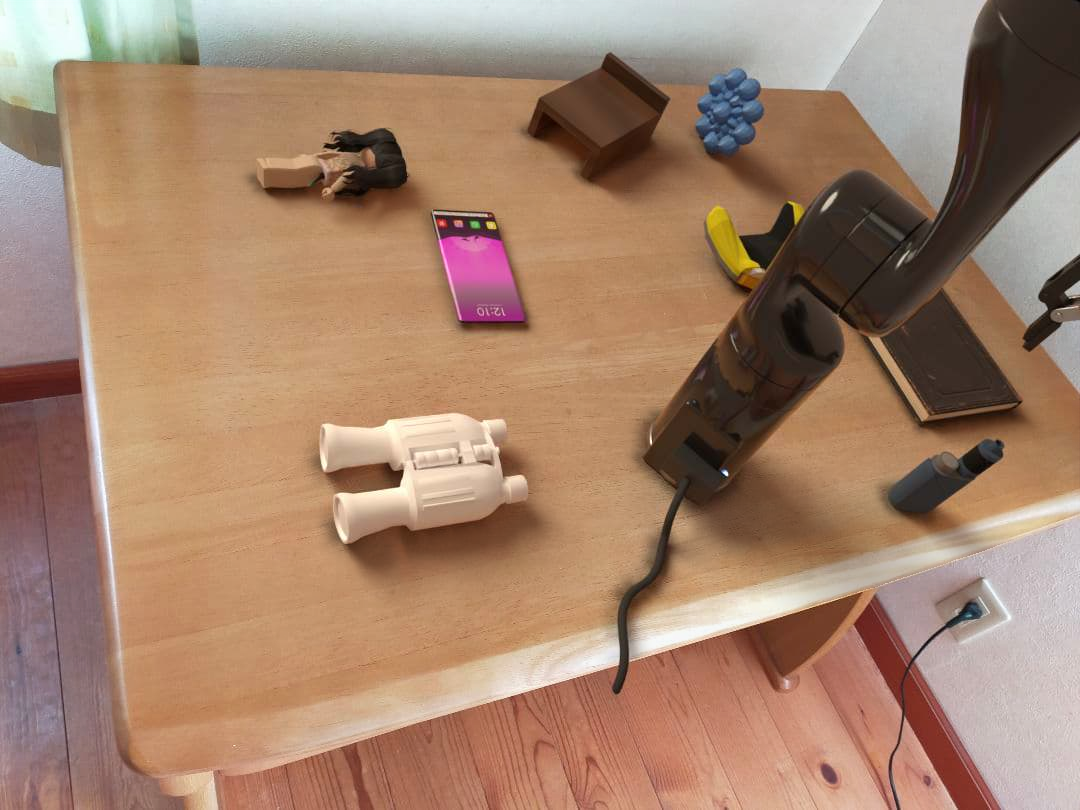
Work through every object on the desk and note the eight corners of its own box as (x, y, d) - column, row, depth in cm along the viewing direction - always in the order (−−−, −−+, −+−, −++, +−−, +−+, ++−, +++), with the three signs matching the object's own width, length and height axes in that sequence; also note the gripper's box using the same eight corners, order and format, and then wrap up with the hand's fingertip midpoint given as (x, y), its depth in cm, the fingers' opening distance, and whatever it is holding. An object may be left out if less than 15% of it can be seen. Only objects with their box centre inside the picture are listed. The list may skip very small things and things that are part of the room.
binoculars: (313, 442, 74) (320, 411, 70) (488, 422, 81) (502, 393, 77) (339, 554, 69) (347, 527, 66) (524, 523, 76) (540, 497, 72)
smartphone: (492, 218, 97) (494, 212, 96) (526, 324, 89) (529, 318, 89) (428, 215, 94) (430, 209, 93) (458, 325, 86) (460, 319, 86)
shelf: (587, 180, 106) (608, 134, 101) (526, 131, 108) (544, 83, 103) (648, 142, 115) (670, 98, 109) (591, 97, 117) (610, 51, 111)
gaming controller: (685, 235, 106) (724, 298, 102) (706, 201, 102) (747, 265, 97) (778, 228, 113) (818, 286, 109) (801, 196, 109) (844, 255, 104)
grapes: (751, 180, 117) (800, 106, 108) (710, 179, 114) (756, 103, 105) (715, 121, 123) (758, 46, 114) (675, 120, 120) (716, 42, 111)
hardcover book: (918, 425, 99) (931, 414, 98) (822, 273, 110) (832, 260, 109) (1012, 410, 106) (1026, 400, 105) (913, 268, 117) (924, 256, 116)
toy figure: (280, 223, 87) (415, 195, 95) (279, 170, 83) (421, 145, 90) (253, 180, 91) (385, 157, 98) (251, 127, 86) (390, 107, 93)
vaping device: (931, 517, 92) (1014, 457, 83) (888, 508, 91) (968, 447, 81) (925, 495, 93) (1006, 435, 84) (883, 487, 92) (960, 424, 83)
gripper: (1149, 202, 62) (987, 345, 74) (1331, 331, 59) (1133, 456, 72) (1166, 166, 66) (1011, 305, 79) (1336, 283, 64) (1148, 409, 76)
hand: (1069, 377), depth 75 cm, fingers open, 8 cm apart
